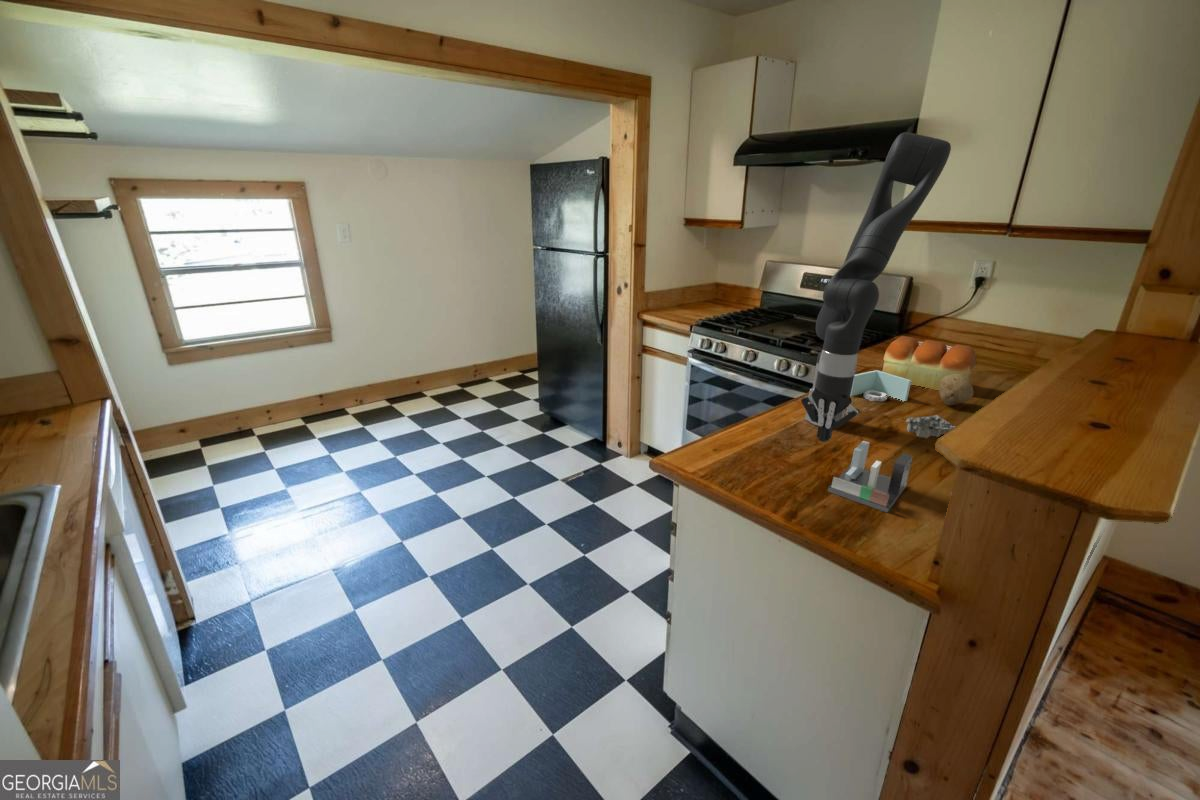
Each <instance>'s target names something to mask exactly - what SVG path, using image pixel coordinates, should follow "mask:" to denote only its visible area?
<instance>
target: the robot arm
mask: <svg viewBox="0 0 1200 800" xmlns="http://www.w3.org/2000/svg"><path fill="white" fill-rule="evenodd" d="M951 147H952V146H951V143H950V142H949V141H946V140H944V139H940V138H935V137H932V136H929V135H928V136H927V135H922V134H918V133H914V132H905V131H904V132H902V133H901V132H900V134H899V135H898V136H897V137H896V138H895V140H894V141H893V143H892V144H891V146H890V149H889V151H888V153H887V156H886V158H885V161H884V162H883V165H882V168H881V171H880V174H879V176H878V180H877V183H876V185H875V189H874V191H873V194H872V195H871V199H870V202H869V204H868V206H867V209H866V212H865V214H864V215H863V218H862V220H861V222H860V225H859V227H858V228H857V231H856V233H855V235H854V237H853V239H852V242H851V245H850V247H849V248H848V251H847V254H846V257H845V259H844V262H843V264H842V265H841V267H839V269H838V270H837V271H836V272H835V273H834V274H833V276H831V278H830V279H829V280H828V282H827V284H826V285H825V286H824V290H823V293H822V300H823V305H822V307H821V308H820V311H819V313H818V315H817V317H816V322H815V334H816V336H817V337H818V338H819V339H820V340H822V341H823V345H822V346H823V347H822V350H821V351H819V353H818V354H817V358H816V359H817V360H816V365H815V372H814V378H813V383H812V387H811V388H810V389H809V391H808V395H805V396H804V397H802V398H801V403H802V405H803V408H804V409H805V416H804V417H805V419H804V421H807V422H809V423H811V424H813V426H814V425H815V426H818V428H817V432H816V437H817V439H818V441H819V442H821V443H826V442H828V441H829V440H831V438H832V435H833V431H834V430H833V429H839V428H841V427H842V426H843V425H845V424H846V423H848V422H849V421H850V420H852V419H853V418H855V417H857V416H858V415H859V414H860V413H861V411H860V409H858V408H855V406H853V404H852V398H851V397H852V396H850V395H851V390H852V385H853V380H854V375H856V371H857V364H858V355H859V352H860V347H861V343H862V339H863V336H864V331H865V328H866V326H867V324H868V321H869V319H871V318H870V317H871V315H872V314H873V312H874V310H875V309H876V307H877V304H878V302H879V299H880V290H879V288H878V285H877V284H876V283H875V282H874V280H875V279H877V278H878V277H879V276H880V275H881V274H882V272H884V271H885V269H886V267H887V265H889V261H890V259H891V257H892V255H893V253H894V252H895V250H896V247H897V245H898V242H899V240H900V238H901V237H902V235H903V233H904V232H905V230H906V228H907V227H908V225H909V224H910V222H911V221H912V220H913V218H914V217H915V215H916V214H917V212H918V211H919V209H920V208H921V206H922V205H923V203H924V202H925V200H926V199H927V197H928V195H929V194H930V192H931V190H932V189H933V187H934V185H935V184H936V182H937V181H938V179H939V178H940V176H941V174H942V172H943V170H944V168H945V166H946V164H947V162H948V160H949V157H950V154H951V150H952V148H951ZM895 182H897V183H900V184H901V183H902V184H904V185H909V186H913V189H912V190H911V192H909V194H907V196H906V197H904V198H903V199H902V200H900V201H899V202H897V204H896V205H894V206H893V205H892V194H893V187H894V183H895Z"/></svg>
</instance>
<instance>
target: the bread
mask: <svg viewBox="0 0 1200 800" xmlns="http://www.w3.org/2000/svg"><path fill="white" fill-rule="evenodd" d="M918 342H919V341H918V340H917V339H916V338H914V337H913V336H905V335H901V336H899V337H897V339H895V340H893V341H892V342H891V343H890V344H889V345H888V346H887V348H886V349H885V353H884V356H883V359H882V360H884V361H883V368H882V370H881V371H882V372H885V373H888V374H892V375H895V376H898V377H902V378H905V379H908V380H912V381H911V385H916V386H921V387H925V388H924V389H926V388H930V389H929V390H931V389H934V390H933V391H935V390H939V383H940V381H941V379H943V378H944V377H946V376H948V375H953V374H955V375H957V374H960V375H963V376H965V377H966V378H967V379H968V380H969V381H970V379H971V375H972V371H973V369H974V368H975V366H976V361H977V353H976V351H975V349H973V348H972V347H971V346H970V345H964V344H958V343H957V344H955V345H954V346H951V348H950V349H949V350H948V351H947V346H948V345H946V344H945V343H944V342H942V341H936V340H931V339H925V340H924V341H922V342H923V343H921V344H920V345H919V343H918ZM911 385H910V386H911ZM916 386H915V387H916ZM921 387H920V388H921Z"/></svg>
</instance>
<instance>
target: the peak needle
mask: <svg viewBox="0 0 1200 800" xmlns="http://www.w3.org/2000/svg"><path fill="white" fill-rule="evenodd" d="M882 464H883V463H882V461H880V460H875V462H874V463H873V464H872V465H871V466H870V470H869V471H871V473H870V477H869V482H868V486H867V487H869V488H872V489H875V487H876V482H877V478H878V474H880V470H881V469H880V468H881V466H882Z"/></svg>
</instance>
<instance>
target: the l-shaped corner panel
mask: <svg viewBox="0 0 1200 800" xmlns="http://www.w3.org/2000/svg"><path fill="white" fill-rule="evenodd" d="M882 371H883V370H878V369H874V370H872V371H871V370H870V371H866V372H861V373H855V375H854V380H853V385H852V390H851V395H850V397H854V396H858V395H862V393H863V398H865V399H866V400H869V401H870V402H886V400H888V397H889V396H891V397H890V398H892V397H893V399H895V398H897V399H896V400H898V399H900V400H899V401H901V400H902V401H901V402H904V401H906V402H907V401H908V397H909V394H910V390H911V389H910V388H911V381H912V380H908V379H905V378H902V377H898V376H895V375H892V374H888V373H885V372H882ZM886 395H887V396H886Z"/></svg>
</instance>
